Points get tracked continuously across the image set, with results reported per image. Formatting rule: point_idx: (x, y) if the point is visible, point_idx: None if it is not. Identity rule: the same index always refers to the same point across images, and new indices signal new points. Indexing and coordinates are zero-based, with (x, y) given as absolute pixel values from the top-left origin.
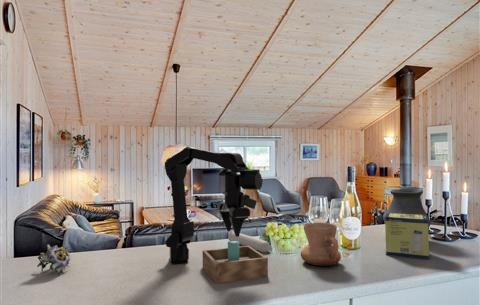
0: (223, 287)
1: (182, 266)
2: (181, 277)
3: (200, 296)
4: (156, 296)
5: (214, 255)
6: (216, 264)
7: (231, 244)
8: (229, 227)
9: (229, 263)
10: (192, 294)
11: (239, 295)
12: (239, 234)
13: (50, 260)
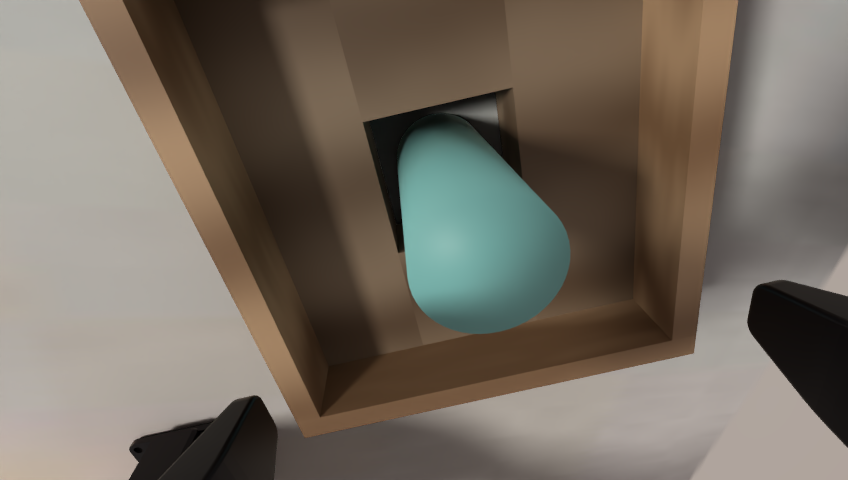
0: None
1: None
2: (481, 421)
3: (747, 338)
4: (665, 469)
5: (303, 329)
6: (691, 344)
7: (551, 291)
8: (241, 472)
9: (697, 256)
10: (709, 367)
11: (843, 166)
12: (828, 291)
13: None
